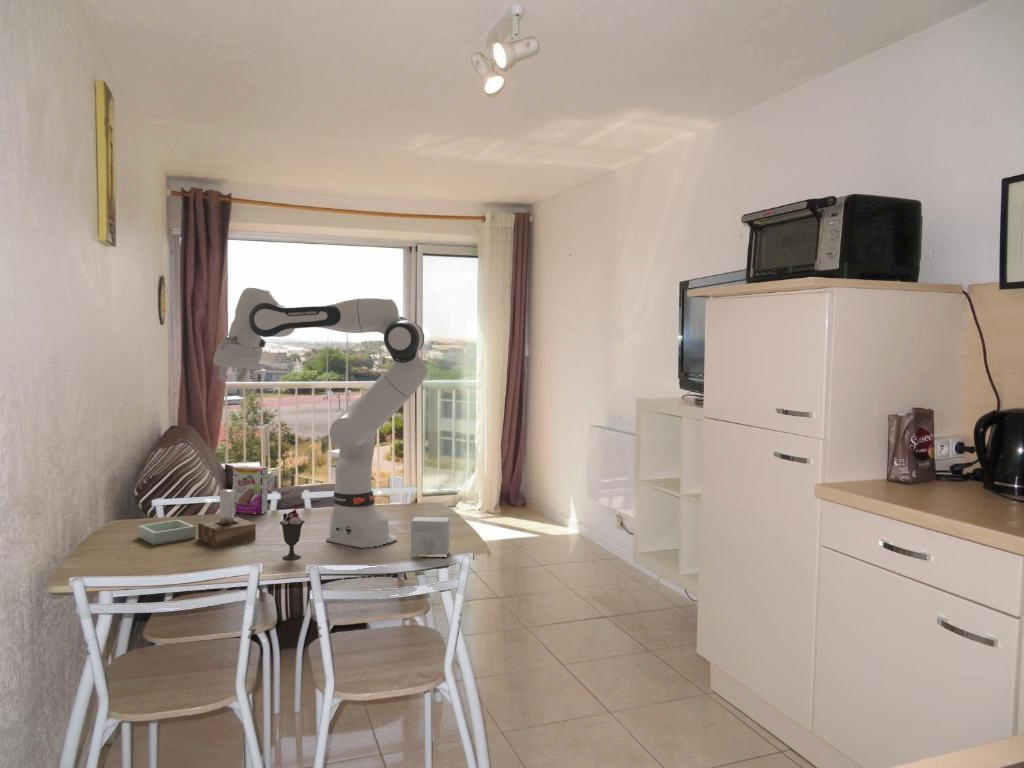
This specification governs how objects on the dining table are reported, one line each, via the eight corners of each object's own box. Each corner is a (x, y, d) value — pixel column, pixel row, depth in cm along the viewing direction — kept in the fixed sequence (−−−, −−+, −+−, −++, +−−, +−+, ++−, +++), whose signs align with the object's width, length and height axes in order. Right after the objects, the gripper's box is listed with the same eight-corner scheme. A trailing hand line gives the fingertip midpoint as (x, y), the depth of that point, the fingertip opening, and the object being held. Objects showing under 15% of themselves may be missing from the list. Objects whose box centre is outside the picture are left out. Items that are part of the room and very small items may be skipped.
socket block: (255, 539, 214) (255, 523, 214) (216, 547, 205) (216, 530, 205) (236, 532, 222) (236, 516, 222) (198, 539, 213) (198, 522, 213)
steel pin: (236, 539, 214) (236, 490, 213) (223, 542, 211) (224, 492, 210) (230, 537, 216) (230, 488, 216) (217, 539, 213) (217, 490, 213)
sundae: (304, 560, 194) (305, 506, 194) (278, 562, 192) (279, 507, 192) (304, 553, 201) (304, 501, 200) (279, 555, 199) (280, 502, 198)
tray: (195, 538, 214) (195, 526, 214) (154, 545, 206) (154, 533, 205) (178, 530, 222) (178, 519, 222) (138, 537, 214) (138, 525, 213)
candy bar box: (231, 513, 247) (231, 467, 246) (238, 510, 252) (238, 465, 251) (261, 515, 246) (262, 468, 245) (268, 512, 251) (268, 466, 250)
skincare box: (449, 552, 206) (450, 516, 206) (446, 558, 200) (447, 521, 199) (413, 551, 206) (414, 515, 206) (410, 557, 200) (410, 520, 199)
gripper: (233, 338, 207) (220, 383, 207) (268, 342, 227) (256, 383, 228) (215, 332, 208) (202, 377, 208) (251, 337, 228) (239, 378, 229)
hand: (231, 380), depth 218 cm, fingers open, 8 cm apart
